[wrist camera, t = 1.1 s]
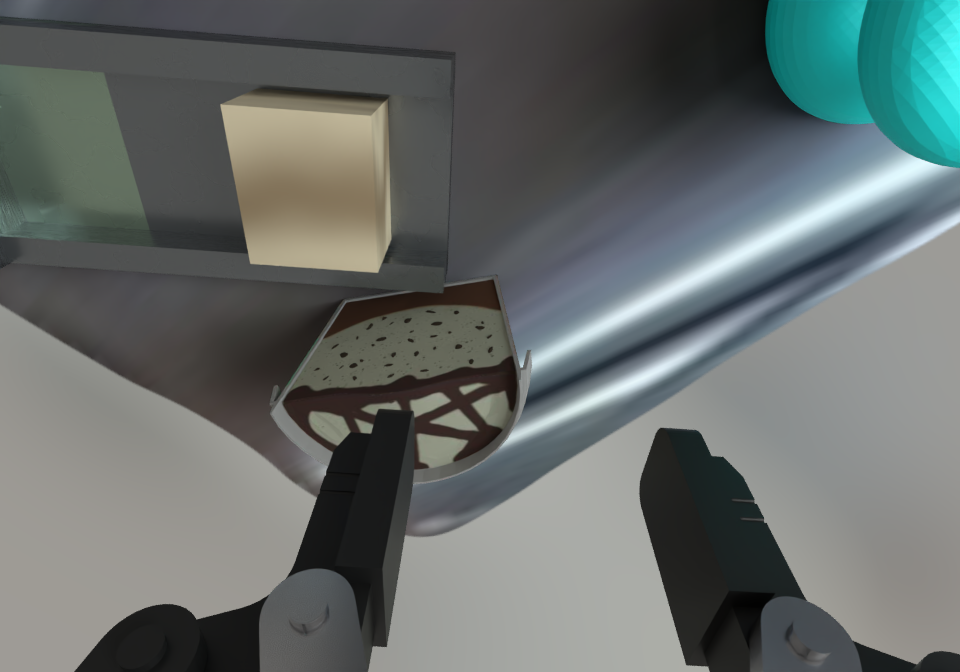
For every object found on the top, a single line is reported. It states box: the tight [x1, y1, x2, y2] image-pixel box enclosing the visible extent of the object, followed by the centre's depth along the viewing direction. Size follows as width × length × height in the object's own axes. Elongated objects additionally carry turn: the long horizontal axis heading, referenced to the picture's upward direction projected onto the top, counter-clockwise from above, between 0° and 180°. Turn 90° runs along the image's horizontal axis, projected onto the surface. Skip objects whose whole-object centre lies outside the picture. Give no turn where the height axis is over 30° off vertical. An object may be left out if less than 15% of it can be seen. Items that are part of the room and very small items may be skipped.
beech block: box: [220, 88, 391, 273], centre depth 25 cm, size 7×6×4 cm
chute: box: [0, 17, 456, 293], centre depth 26 cm, size 11×24×4 cm, turn 86°
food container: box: [270, 275, 532, 484], centre depth 29 cm, size 12×6×10 cm, turn 100°
